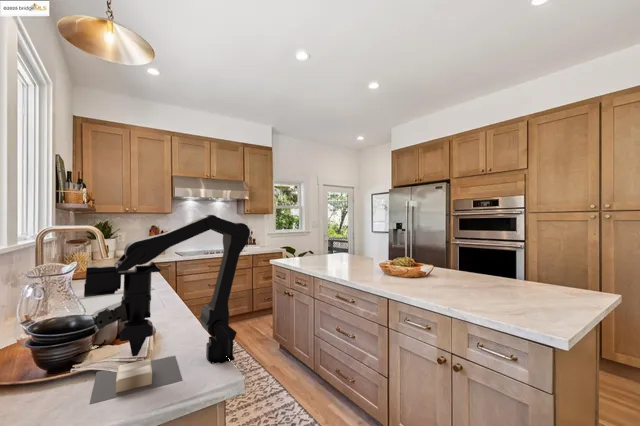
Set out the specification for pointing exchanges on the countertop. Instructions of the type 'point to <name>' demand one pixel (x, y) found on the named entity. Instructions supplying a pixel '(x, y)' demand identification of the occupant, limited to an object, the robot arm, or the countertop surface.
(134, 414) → the countertop surface
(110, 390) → the mat
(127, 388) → the cream rectangular block
